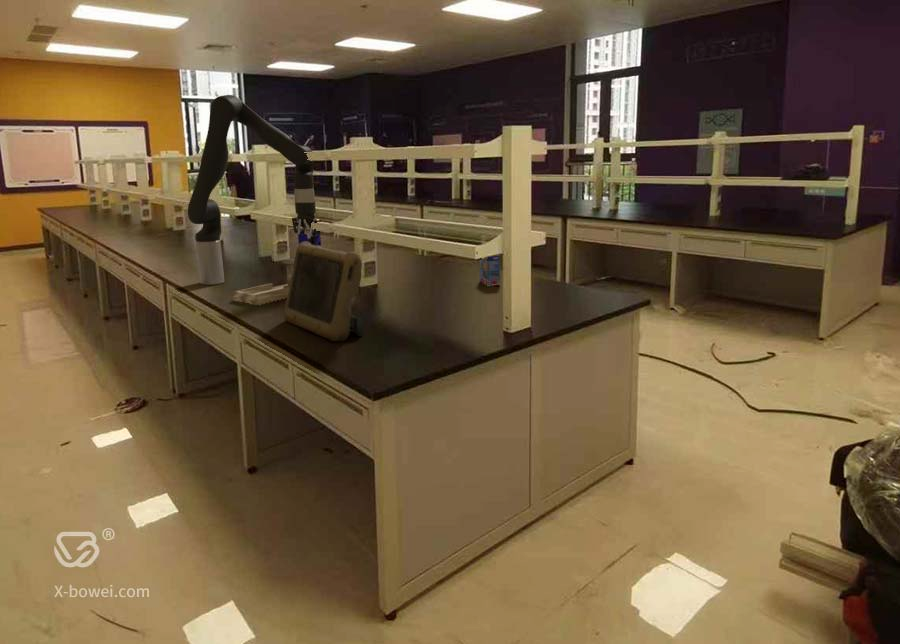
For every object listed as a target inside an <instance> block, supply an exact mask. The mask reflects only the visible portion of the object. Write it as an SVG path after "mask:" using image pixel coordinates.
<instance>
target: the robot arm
mask: <svg viewBox="0 0 900 644" xmlns="http://www.w3.org/2000/svg"><path fill="white" fill-rule="evenodd" d="M209 112H210V113H209V120H208V128H207V129H208V130H207V134H206V138H205V142H204V147H203V151H202V154H201V160H200V163H199V170H198V174H197V177H196V181H195V186H194V187H193V191H192V194H191V197H190V199H189V203H188V205H187V218H188V220H189V221H190V223H192V224H194V225H202V227H201V229H200V230H199V231H197V232H196V233H195V235H194V238H195V245H196V246H195V247H196V254H197V259H196V264H197V274H198V283H200V284H201V285H206V286H207V285H208V286H211V285H212V286H213V285H218V284H222V283H225V275H224V264H223V254H222V245H221V233H222V223H221V221H222V220H221V209H220V206H219V204H218V203H217V201H215V200H214V199H212V198H211V199H210V196H211V194H212V192H213V190H214V189H215V188H216V186H217V185H218V184H220V182H221V180H222V179H223V177H224V175H225V173H226V170H227V166H228V161H229V148H228V141H227V140H228V134H229V130H230V127H231V124H232V122H234V121H235V122H237V123H239V124H242V126H245V127H247V128H248V129H249V130H251V131H252V132H253V133H254V134H255V136H256V137H257V138H258V139H259V140H260V141H262V143H264V144H265V145H267V146H268V147H270V148H272V149H273V150H275V151H276V152H278V153H279V154H281V156H283V157H284V158H285V159H286V160H288V161H289V162H291V163H292V164H294V165H295V168H296V170H295V173H294V176H293V183H294V184H293V186H294V196H293V197H294V207H295V209H294V210H295V214H297V215H296V216H295V217H291V221H292V222H291V223H292V229H293V232H294V234H297V235H298V234H306V231H307V232H308V233H309V235H310V236H309V238H310V241H311V244H312V245H316V244H317V241H316V236H317V235H319V234H320V235H321V231H316V229H314V230H313V229H312V228H313V227H312V228H311V223H312V222H314V223H317V222H321V223H322V219H320V218H316V217H315V213H317V210H316V196H315V195H316V194H315V189H314V177H313V176H314V175H313V173H314V163H315V160H314V161H310V160H307V159H308V157H307V155H306V154H307V153H304V152H313V151H312V149H311V148H310V147H309V146H306V145H299V144H298V143H296V142H295V141H294V140H292V138H291V137H290V136H289V135H288V134H287V133H284V132H283V131H281V130H280V129H279V128H277V127H275V126H274V125H273V124H271V123H269V122H268V121H267V120H265V119H264V118H262V117H261V116H260V115H258V114H257V113H256V112H255V111H254V110H252V109H251V108H250V107H249V106H248V105H247V104H246V103H244V101H242V100H241V99H240V98H239V97H237V96H235V95H232V94H224V95H219V96H216V97H215V98H213V100H212V103H211V105H210V111H209ZM312 231H313V232H312Z"/></svg>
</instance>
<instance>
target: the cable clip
mask: <svg viewBox="0 0 900 644" xmlns="http://www.w3.org/2000/svg"><path fill="white" fill-rule="evenodd" d="M312 232H313V231H312ZM321 237H322V236H321V233H320V234H319V235H317V236H316V241H317V244H316V246H317V245H320V246H321V247H322V238H321ZM297 238H298V239H297V241H298V245H299V244H300V243H302V242H305V241H308V242H310V243H311V241H310V237H308V234H307V233H304V234H297Z"/></svg>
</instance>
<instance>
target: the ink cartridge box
mask: <svg viewBox="0 0 900 644" xmlns="http://www.w3.org/2000/svg"><path fill="white" fill-rule="evenodd" d="M478 262H479V266H478V267H479V282H480V281H481V282H483V283H485V284H487V285H492V284H500V285H501V257H500V254H498V255H497V256H492V257H488V258H485V259H483V260H479V261H478ZM481 282H480V283H481ZM483 283H482V284H483Z"/></svg>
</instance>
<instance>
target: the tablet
mask: <svg viewBox="0 0 900 644" xmlns="http://www.w3.org/2000/svg"><path fill="white" fill-rule="evenodd" d="M294 255H295V256H294V258H295V259H294V263H293V273H292V276H291V279H290V287H289V291H288V295H287V299H285V300H286V302H285V304H284V310H283V315H284V319H285V320H284V321H285V322H288V323H290V324H292V325H294V326H296V327H300V328H302V329H304V330H307V331H310V332H311V333H314V334H316V335H318V336H320V337H322V338H325V339H327V340H329V341H331V342H341V343H342V342H344V341H346V340H347V339H349V338H348V337H349V336H350V334H351V331H354V333H355V334H356V336H358V337H362V336H363V335H364V329H363V328H364V327H363V326H364V325H363V324H364V321H363V319H362V318H359V317H357V316H354V315H353V314H352V308H351V301H352V299H354V297H356V296H357V295H358V293H359V289H360V286H361V285H360V284H361V280H362V268H363V267H362V266H363V262H362V258H361V256H360V254H359V253H358V252H357V251H349V252H345V251H344V250H336V249H330V248H325V247H322V245H321V246H320V245H317V246H316V245H312V244H311V243H310V242H308V241H305V242H302V243H300V244H299V243H298V245H297V247H296V250H295V254H294Z"/></svg>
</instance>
